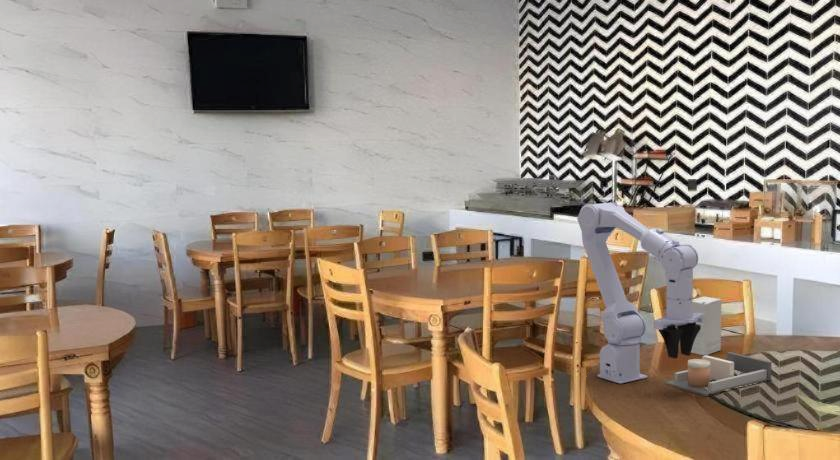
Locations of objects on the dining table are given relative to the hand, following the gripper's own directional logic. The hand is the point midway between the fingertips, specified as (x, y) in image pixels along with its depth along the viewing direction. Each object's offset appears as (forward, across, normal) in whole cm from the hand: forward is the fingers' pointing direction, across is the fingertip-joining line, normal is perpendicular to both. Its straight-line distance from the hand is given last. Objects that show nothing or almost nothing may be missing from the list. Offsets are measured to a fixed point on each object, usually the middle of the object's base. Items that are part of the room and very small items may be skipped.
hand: (679, 356), depth 184 cm
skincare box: (+9, +34, +22) cm, 42 cm away
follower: (+8, +13, 0) cm, 15 cm away
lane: (+8, +14, 0) cm, 16 cm away
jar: (+8, +7, 0) cm, 10 cm away
